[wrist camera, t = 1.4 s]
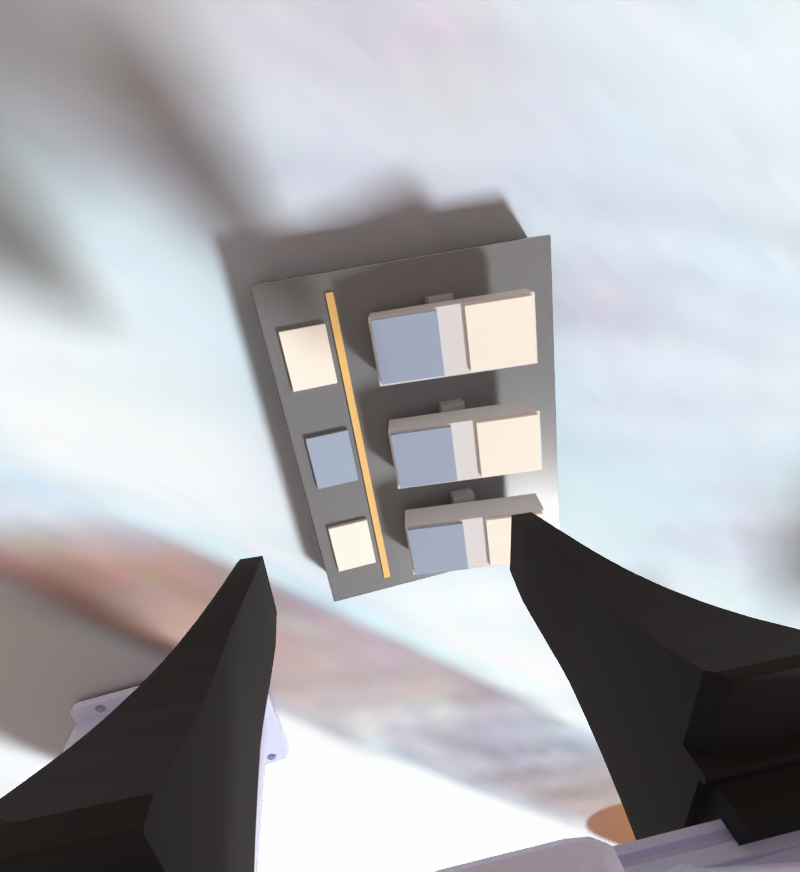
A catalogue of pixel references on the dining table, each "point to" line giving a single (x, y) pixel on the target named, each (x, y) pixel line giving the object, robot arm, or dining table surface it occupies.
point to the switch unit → (395, 398)
